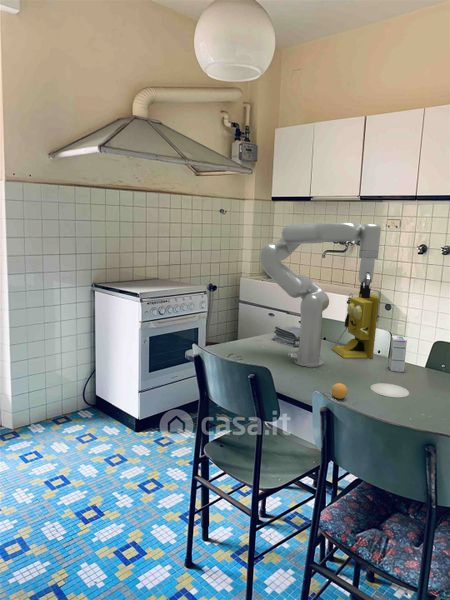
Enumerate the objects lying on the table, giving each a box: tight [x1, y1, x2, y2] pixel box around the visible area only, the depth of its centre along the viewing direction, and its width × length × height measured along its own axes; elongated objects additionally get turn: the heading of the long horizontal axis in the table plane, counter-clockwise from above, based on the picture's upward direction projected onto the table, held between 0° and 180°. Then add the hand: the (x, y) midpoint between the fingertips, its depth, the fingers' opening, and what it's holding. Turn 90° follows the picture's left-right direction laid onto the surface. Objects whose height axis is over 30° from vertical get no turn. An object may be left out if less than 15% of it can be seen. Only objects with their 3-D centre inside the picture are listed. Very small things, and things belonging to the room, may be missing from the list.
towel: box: [271, 325, 300, 348], centre depth 237 cm, size 15×18×8 cm
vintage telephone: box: [331, 291, 380, 360], centre depth 219 cm, size 31×14×30 cm, turn 9°
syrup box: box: [388, 335, 408, 373], centre depth 198 cm, size 6×6×14 cm
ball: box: [331, 383, 348, 400], centre depth 163 cm, size 6×6×6 cm
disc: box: [370, 382, 410, 399], centre depth 174 cm, size 14×14×1 cm
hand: (364, 296), depth 187 cm, fingers open, 9 cm apart
